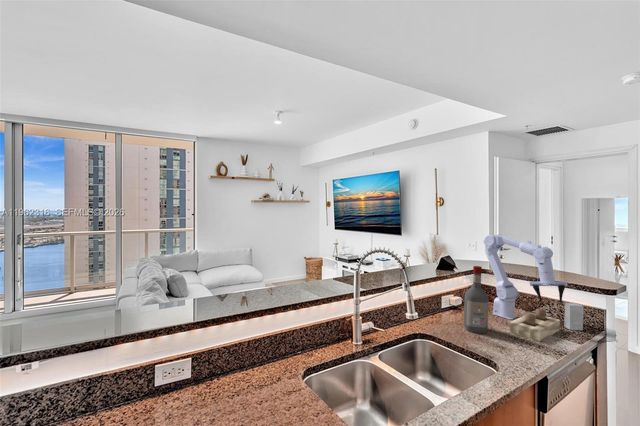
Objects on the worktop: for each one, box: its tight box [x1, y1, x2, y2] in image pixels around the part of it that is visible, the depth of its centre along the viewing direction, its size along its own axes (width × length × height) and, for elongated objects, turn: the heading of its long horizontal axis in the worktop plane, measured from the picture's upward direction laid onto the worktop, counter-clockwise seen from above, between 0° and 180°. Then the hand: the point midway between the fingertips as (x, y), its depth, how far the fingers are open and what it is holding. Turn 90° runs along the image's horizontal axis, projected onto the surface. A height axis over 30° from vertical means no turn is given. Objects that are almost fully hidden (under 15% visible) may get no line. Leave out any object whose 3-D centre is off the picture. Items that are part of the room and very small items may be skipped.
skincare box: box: [563, 302, 584, 331], centre depth 152 cm, size 6×4×12 cm
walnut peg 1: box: [524, 312, 536, 326], centre depth 144 cm, size 4×4×5 cm
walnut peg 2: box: [535, 308, 547, 321], centre depth 151 cm, size 4×4×5 cm
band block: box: [509, 312, 561, 343], centre depth 148 cm, size 12×24×5 cm, turn 126°
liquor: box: [463, 265, 490, 334], centre depth 149 cm, size 9×9×30 cm
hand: (550, 301), depth 148 cm, fingers open, 7 cm apart
